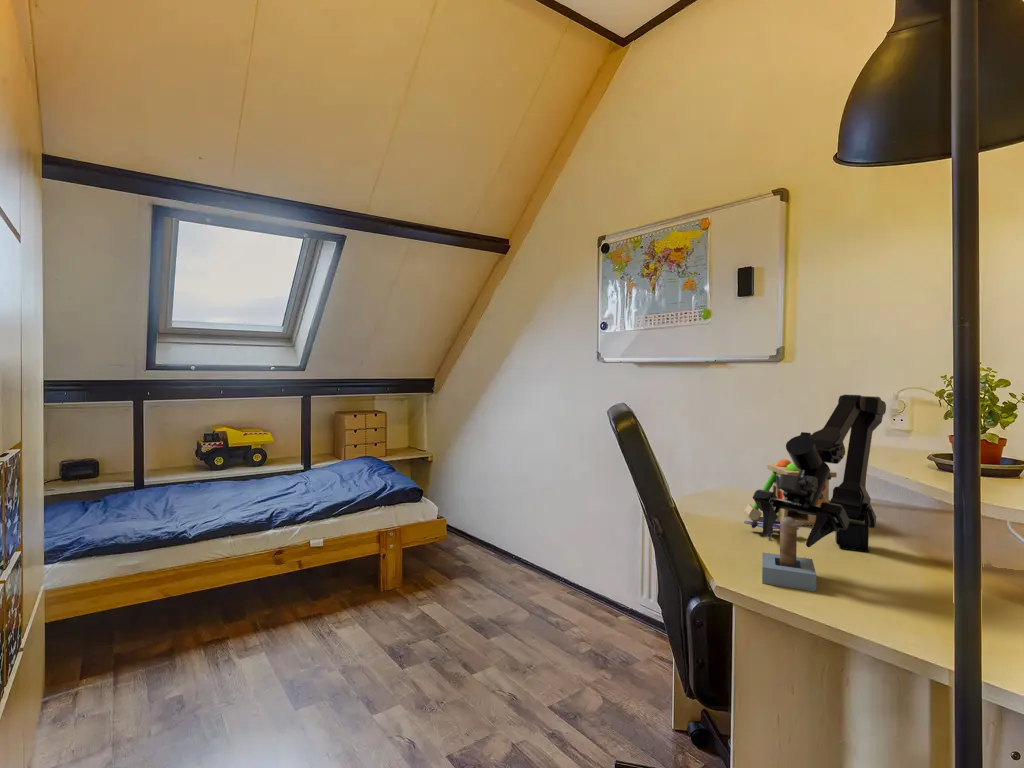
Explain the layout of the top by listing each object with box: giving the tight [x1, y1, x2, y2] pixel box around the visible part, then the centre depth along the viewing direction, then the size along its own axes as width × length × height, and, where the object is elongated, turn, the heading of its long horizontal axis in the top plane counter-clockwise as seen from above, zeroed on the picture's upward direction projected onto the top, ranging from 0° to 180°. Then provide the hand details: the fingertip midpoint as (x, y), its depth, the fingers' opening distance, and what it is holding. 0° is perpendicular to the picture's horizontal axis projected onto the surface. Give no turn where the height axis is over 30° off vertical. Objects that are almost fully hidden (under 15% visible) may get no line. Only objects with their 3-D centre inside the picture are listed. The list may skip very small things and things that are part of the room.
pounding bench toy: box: [744, 458, 838, 527], centre depth 161 cm, size 23×14×18 cm, turn 89°
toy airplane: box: [743, 518, 800, 541], centre depth 145 cm, size 13×14×4 cm
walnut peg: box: [779, 517, 798, 568], centre depth 115 cm, size 3×3×14 cm
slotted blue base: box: [761, 552, 817, 593], centre depth 116 cm, size 10×10×4 cm
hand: (785, 540), depth 115 cm, fingers open, 9 cm apart
